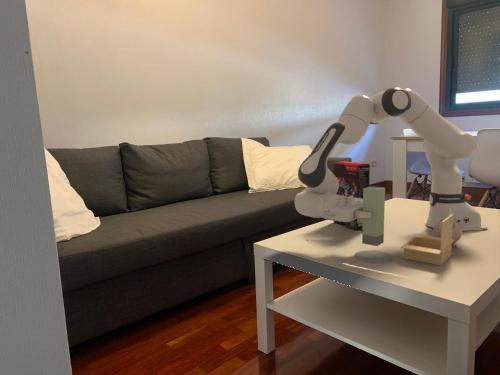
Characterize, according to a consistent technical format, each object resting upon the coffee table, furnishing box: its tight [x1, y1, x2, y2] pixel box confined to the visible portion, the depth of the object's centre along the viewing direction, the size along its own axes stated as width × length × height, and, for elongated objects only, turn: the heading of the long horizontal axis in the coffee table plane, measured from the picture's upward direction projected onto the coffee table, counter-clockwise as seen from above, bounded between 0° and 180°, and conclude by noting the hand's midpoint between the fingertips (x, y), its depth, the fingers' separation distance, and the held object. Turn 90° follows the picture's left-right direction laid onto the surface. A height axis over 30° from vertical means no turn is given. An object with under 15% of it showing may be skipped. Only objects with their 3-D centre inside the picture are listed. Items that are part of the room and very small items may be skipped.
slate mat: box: [354, 250, 394, 264], centre depth 129 cm, size 12×12×1 cm
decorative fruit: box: [432, 220, 463, 245], centre depth 138 cm, size 9×8×10 cm
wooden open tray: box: [400, 214, 454, 266], centre depth 126 cm, size 11×17×14 cm, turn 139°
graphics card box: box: [332, 160, 371, 231], centre depth 168 cm, size 17×7×27 cm, turn 23°
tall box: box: [361, 185, 386, 247], centre depth 127 cm, size 5×5×18 cm
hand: (376, 213), depth 126 cm, fingers closed on tall box, 5 cm apart
